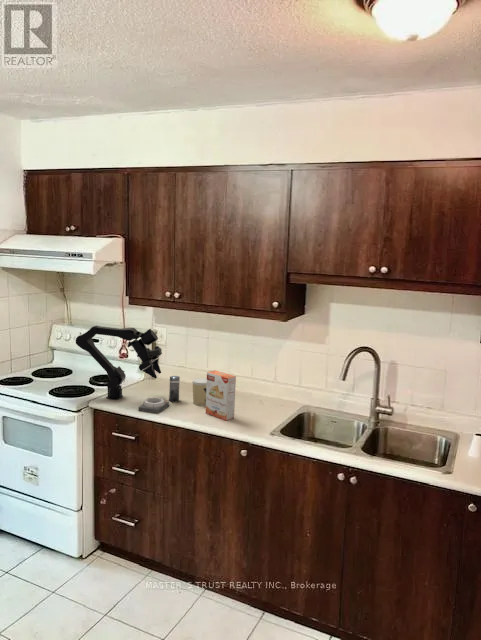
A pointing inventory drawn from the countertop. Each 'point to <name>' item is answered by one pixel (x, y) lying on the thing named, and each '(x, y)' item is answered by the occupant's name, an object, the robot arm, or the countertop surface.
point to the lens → (174, 389)
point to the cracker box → (220, 394)
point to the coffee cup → (199, 391)
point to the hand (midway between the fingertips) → (158, 375)
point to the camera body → (153, 405)
